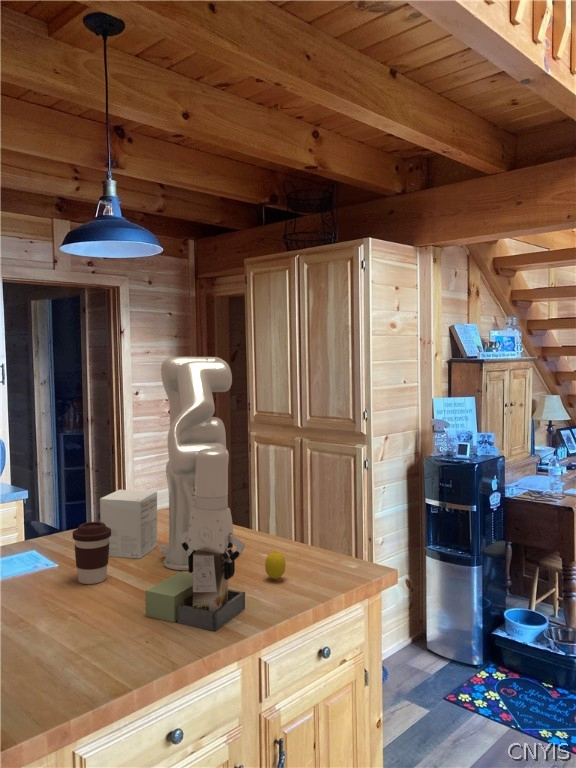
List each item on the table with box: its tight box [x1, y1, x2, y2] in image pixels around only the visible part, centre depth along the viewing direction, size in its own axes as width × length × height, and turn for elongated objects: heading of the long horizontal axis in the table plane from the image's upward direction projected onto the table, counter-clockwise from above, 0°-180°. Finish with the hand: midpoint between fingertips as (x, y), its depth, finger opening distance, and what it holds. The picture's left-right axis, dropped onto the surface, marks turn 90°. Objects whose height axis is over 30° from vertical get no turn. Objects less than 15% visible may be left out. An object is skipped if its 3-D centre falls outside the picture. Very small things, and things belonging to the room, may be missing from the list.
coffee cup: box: [72, 521, 111, 585], centre depth 167 cm, size 10×10×15 cm
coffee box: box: [192, 550, 229, 612], centre depth 145 cm, size 9×6×16 cm
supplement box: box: [99, 489, 158, 560], centre depth 192 cm, size 13×13×18 cm
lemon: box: [264, 550, 286, 581], centre depth 169 cm, size 6×6×8 cm
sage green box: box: [145, 571, 193, 623], centre depth 150 cm, size 8×14×6 cm, turn 155°
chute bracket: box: [177, 588, 246, 632], centre depth 146 cm, size 10×14×4 cm
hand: (211, 574), depth 146 cm, fingers open, 9 cm apart
